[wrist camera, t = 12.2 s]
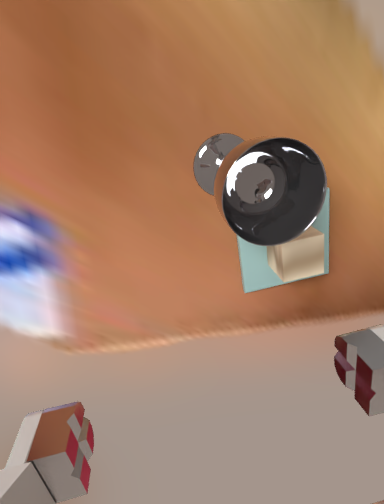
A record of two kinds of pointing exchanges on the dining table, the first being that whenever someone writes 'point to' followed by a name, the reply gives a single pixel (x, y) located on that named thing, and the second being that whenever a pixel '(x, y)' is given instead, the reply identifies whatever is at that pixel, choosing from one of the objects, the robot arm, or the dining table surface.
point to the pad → (256, 262)
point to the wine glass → (262, 185)
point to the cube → (298, 256)
